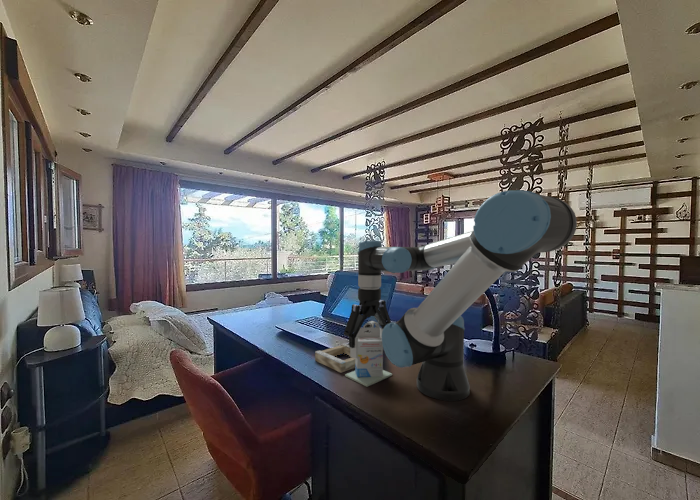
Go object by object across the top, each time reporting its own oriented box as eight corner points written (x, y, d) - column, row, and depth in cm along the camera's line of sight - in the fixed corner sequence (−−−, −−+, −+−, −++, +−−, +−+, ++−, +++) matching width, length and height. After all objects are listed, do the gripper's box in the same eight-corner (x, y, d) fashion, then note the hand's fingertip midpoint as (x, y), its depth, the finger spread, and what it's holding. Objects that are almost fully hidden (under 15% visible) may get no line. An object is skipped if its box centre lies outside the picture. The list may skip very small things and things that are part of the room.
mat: (392, 375, 100) (392, 373, 100) (367, 386, 91) (367, 384, 91) (370, 366, 107) (370, 364, 107) (344, 376, 99) (344, 374, 99)
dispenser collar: (370, 361, 111) (370, 352, 111) (341, 372, 101) (341, 362, 101) (344, 351, 122) (344, 343, 122) (315, 360, 112) (315, 351, 112)
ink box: (357, 378, 96) (357, 331, 96) (354, 371, 101) (355, 327, 101) (383, 376, 97) (383, 331, 97) (379, 370, 102) (380, 327, 102)
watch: (360, 348, 126) (360, 322, 126) (372, 344, 131) (373, 318, 131) (370, 351, 122) (370, 324, 122) (383, 347, 127) (383, 321, 127)
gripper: (385, 283, 110) (384, 341, 110) (332, 289, 93) (332, 358, 93) (402, 285, 105) (401, 346, 105) (349, 292, 87) (348, 365, 88)
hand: (368, 352), depth 99 cm, fingers open, 13 cm apart
